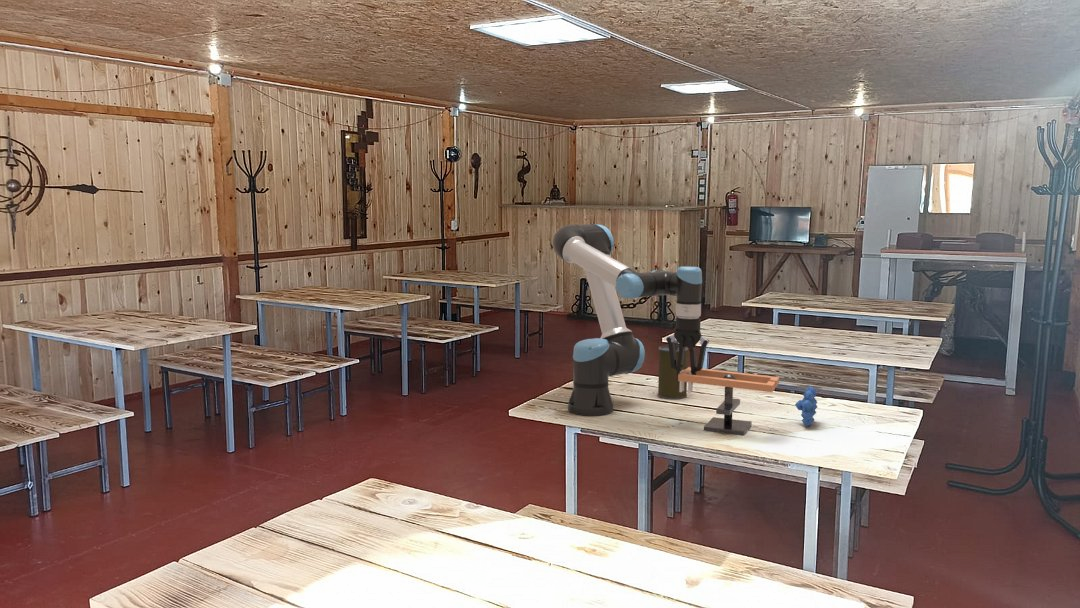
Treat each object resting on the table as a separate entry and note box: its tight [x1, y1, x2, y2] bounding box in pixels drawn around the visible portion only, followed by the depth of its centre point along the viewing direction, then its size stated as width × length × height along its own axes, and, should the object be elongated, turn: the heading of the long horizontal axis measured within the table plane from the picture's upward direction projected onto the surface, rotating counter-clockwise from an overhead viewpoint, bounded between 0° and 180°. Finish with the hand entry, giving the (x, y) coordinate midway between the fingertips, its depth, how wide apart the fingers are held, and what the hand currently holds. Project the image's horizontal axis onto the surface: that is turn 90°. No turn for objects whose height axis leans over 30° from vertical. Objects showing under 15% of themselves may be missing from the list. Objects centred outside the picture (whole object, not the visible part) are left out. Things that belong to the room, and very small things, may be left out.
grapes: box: [794, 385, 818, 427], centre depth 245 cm, size 12×7×12 cm, turn 152°
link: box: [678, 366, 780, 393], centre depth 240 cm, size 28×12×2 cm, turn 65°
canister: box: [657, 339, 689, 400], centre depth 282 cm, size 11×10×20 cm
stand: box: [703, 374, 753, 436], centre depth 241 cm, size 12×15×17 cm
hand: (686, 391), depth 246 cm, fingers closed on link, 2 cm apart
